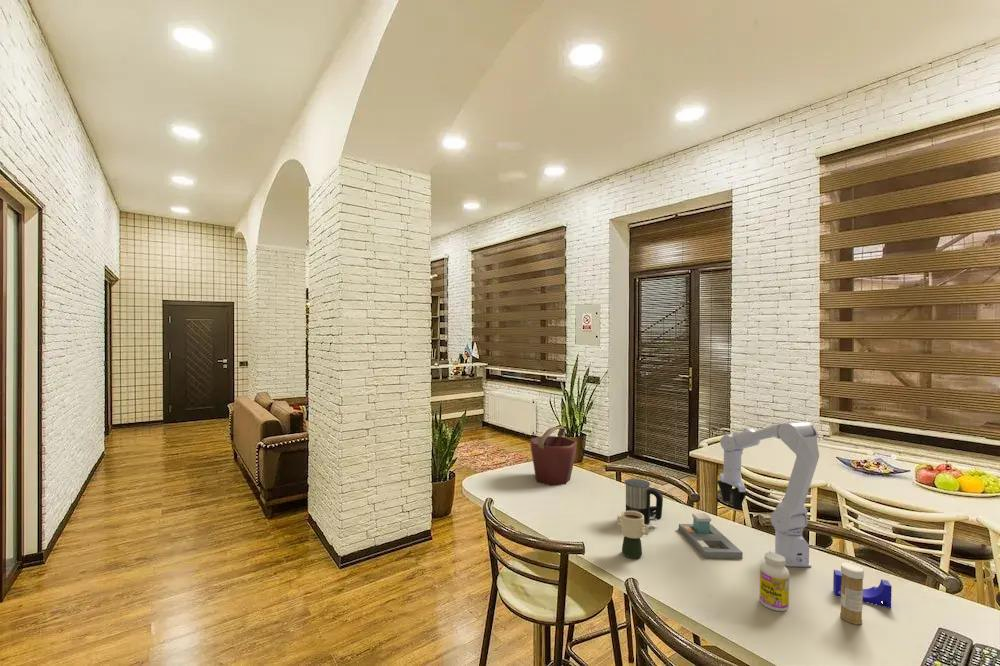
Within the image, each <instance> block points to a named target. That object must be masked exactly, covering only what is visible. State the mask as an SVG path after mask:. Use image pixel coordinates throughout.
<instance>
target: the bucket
mask: <svg viewBox="0 0 1000 666" xmlns="http://www.w3.org/2000/svg"><path fill="white" fill-rule="evenodd" d="M566 429H567V428H566V427H562V426H553V427H550V428H548V429H547V430H546V431H545V432H544V433H543V434H542V436H537V437H532V438H530V439H529V440H530V441H529V443H530V444H529V445H530V451H531V456H532V464H533V469H534V475H535V479H536V483H539V482H540V483H539V484H543V483H544V485H547V484H548V486H560V485H559V484H565V485H567V484H568V483H569V482H570V480H571V478H572V473H573V468H574V463H575V459H576V453H577V448H578V442H577V441H576V440H574V439H571V438H569V437H566V434H565V431H566ZM557 430H558V431H557ZM554 431H557V432H558V434H557V436H553V435H551V434H553V432H554ZM568 481H569V482H568ZM567 482H568V483H567ZM566 483H567V484H566Z"/></svg>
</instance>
